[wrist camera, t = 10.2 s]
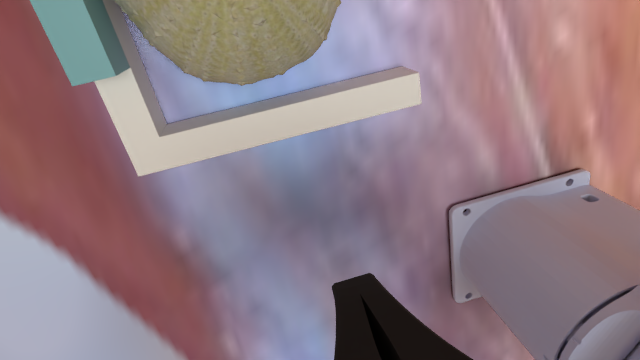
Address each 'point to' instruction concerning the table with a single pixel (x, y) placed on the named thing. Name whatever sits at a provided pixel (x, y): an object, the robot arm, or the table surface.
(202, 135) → the comb rack
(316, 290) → the table surface
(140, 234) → the table surface
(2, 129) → the table surface
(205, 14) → the sea urchin shell
